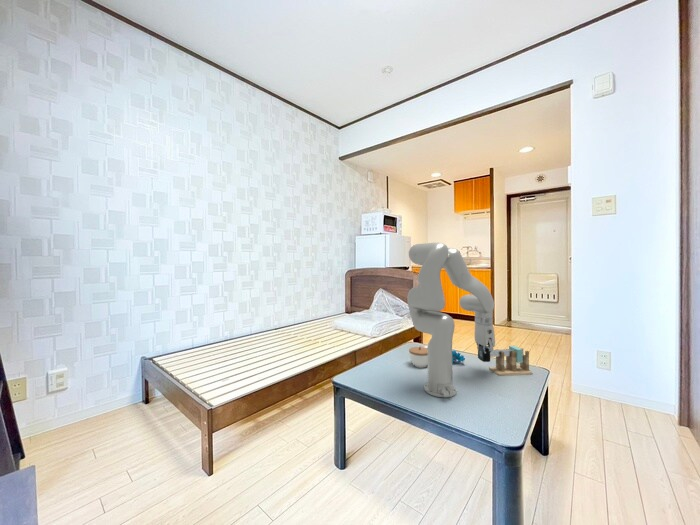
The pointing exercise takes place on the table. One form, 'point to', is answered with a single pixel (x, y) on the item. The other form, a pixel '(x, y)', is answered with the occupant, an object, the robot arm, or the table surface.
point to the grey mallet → (494, 352)
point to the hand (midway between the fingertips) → (484, 359)
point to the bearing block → (511, 365)
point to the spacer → (518, 353)
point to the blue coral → (457, 356)
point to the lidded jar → (419, 356)
